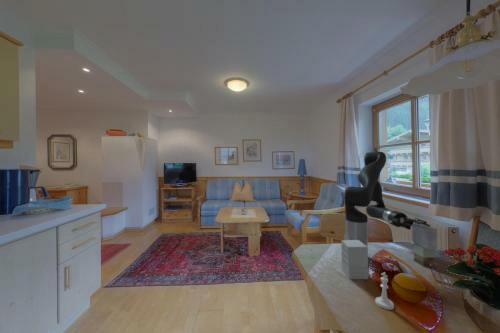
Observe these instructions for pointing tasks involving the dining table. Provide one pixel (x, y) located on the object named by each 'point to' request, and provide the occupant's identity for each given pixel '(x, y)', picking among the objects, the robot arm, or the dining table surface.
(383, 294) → the chess piece
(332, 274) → the dining table surface
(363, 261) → the supplement box
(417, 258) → the tower base block
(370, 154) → the robot arm
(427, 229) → the medicine box
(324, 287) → the dining table surface
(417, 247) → the tower top block
